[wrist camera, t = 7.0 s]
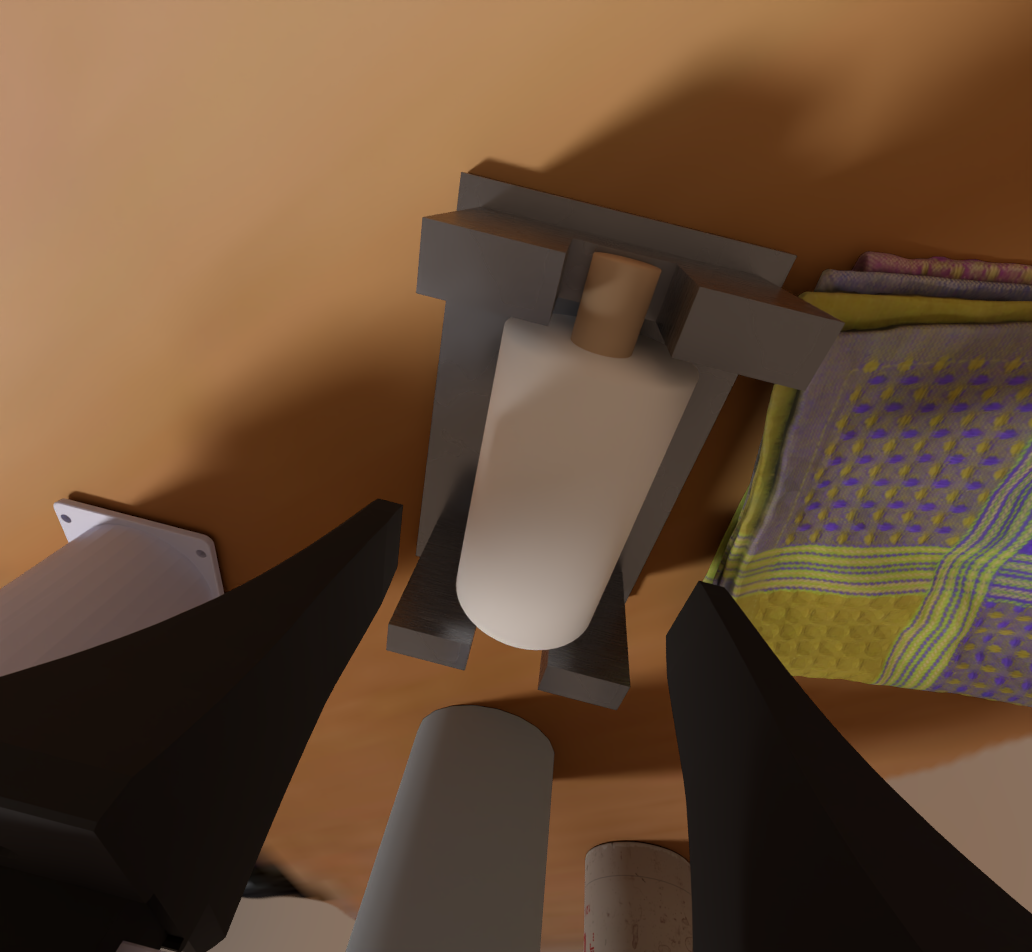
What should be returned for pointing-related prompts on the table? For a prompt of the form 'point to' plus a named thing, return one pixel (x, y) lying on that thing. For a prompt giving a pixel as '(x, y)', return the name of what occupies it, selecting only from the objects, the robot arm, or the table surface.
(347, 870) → the table surface
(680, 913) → the thermos bottle
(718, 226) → the table surface
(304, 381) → the table surface
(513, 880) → the spray bottle
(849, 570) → the dish towel
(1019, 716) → the table surface
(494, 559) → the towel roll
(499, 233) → the roll holder
